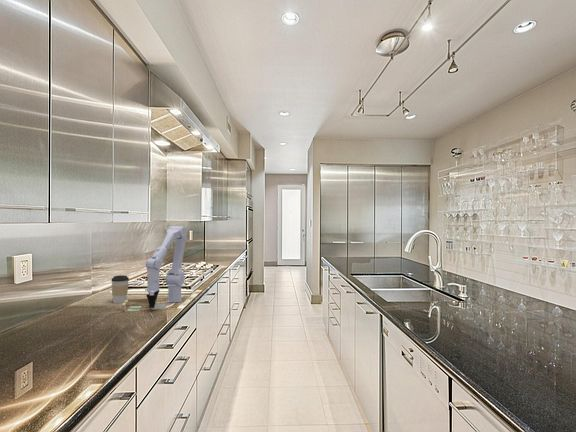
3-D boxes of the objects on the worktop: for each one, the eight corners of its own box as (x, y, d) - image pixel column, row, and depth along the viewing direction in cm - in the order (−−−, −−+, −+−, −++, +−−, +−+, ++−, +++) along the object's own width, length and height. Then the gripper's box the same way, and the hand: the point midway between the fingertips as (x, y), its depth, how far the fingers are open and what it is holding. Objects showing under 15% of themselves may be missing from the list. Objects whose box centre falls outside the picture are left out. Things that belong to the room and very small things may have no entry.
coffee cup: (111, 300, 189) (112, 274, 189) (128, 299, 193) (129, 273, 193) (110, 304, 181) (110, 277, 181) (128, 302, 184) (128, 276, 185)
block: (151, 309, 172) (151, 298, 172) (151, 307, 176) (152, 296, 176) (165, 309, 175) (165, 297, 175) (165, 307, 178) (166, 296, 178)
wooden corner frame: (126, 305, 179) (126, 299, 179) (153, 304, 183) (153, 298, 183) (121, 312, 167) (121, 305, 167) (150, 310, 171) (151, 304, 171)
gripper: (147, 278, 181) (146, 302, 180) (143, 283, 167) (142, 310, 167) (160, 277, 183) (160, 302, 183) (158, 283, 169) (157, 309, 169)
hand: (152, 305), depth 175 cm, fingers open, 7 cm apart
